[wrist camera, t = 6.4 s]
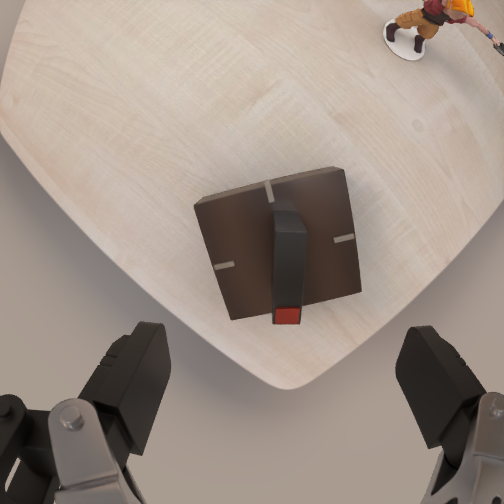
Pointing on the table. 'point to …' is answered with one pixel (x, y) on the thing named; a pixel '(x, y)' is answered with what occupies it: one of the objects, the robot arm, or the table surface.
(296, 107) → the table surface
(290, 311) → the knob
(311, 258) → the panel
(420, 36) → the action figure
